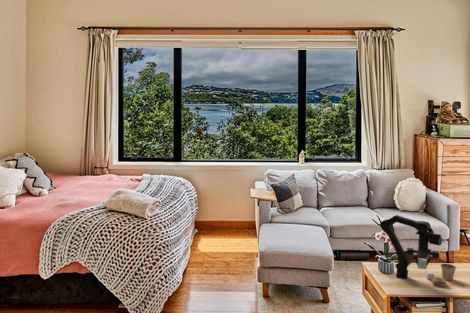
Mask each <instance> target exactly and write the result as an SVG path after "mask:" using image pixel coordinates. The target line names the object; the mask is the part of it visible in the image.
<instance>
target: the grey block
mask: <svg viewBox="0 0 470 313" xmlns="http://www.w3.org/2000/svg"><path fill="white" fill-rule="evenodd" d="M424 273H425V275H424V277H425V279H426V278H427V279H430V281H432V277H435V273H434V272H433V271H427V270H425V272H424ZM427 279H426V280H427Z"/></svg>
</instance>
